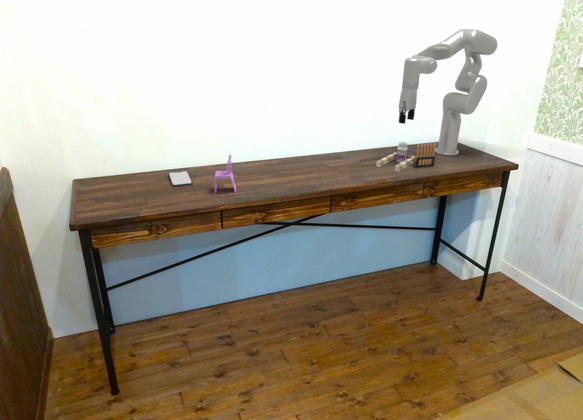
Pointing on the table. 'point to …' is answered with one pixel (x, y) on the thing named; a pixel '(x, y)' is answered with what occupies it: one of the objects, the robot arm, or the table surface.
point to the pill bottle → (401, 152)
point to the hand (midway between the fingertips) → (406, 121)
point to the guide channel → (393, 156)
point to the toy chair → (225, 174)
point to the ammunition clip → (424, 156)
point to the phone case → (180, 179)
